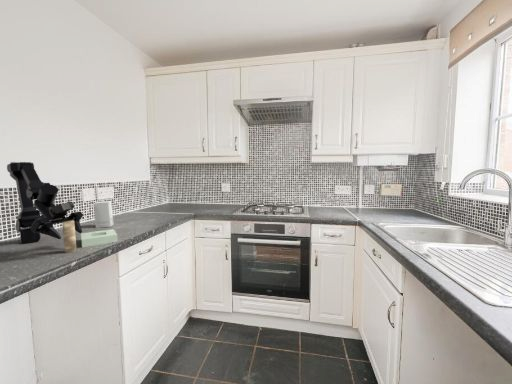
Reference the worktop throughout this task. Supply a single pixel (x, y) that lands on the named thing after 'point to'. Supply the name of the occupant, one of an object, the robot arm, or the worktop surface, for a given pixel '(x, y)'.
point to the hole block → (98, 237)
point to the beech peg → (69, 236)
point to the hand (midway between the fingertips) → (71, 235)
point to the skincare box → (103, 214)
